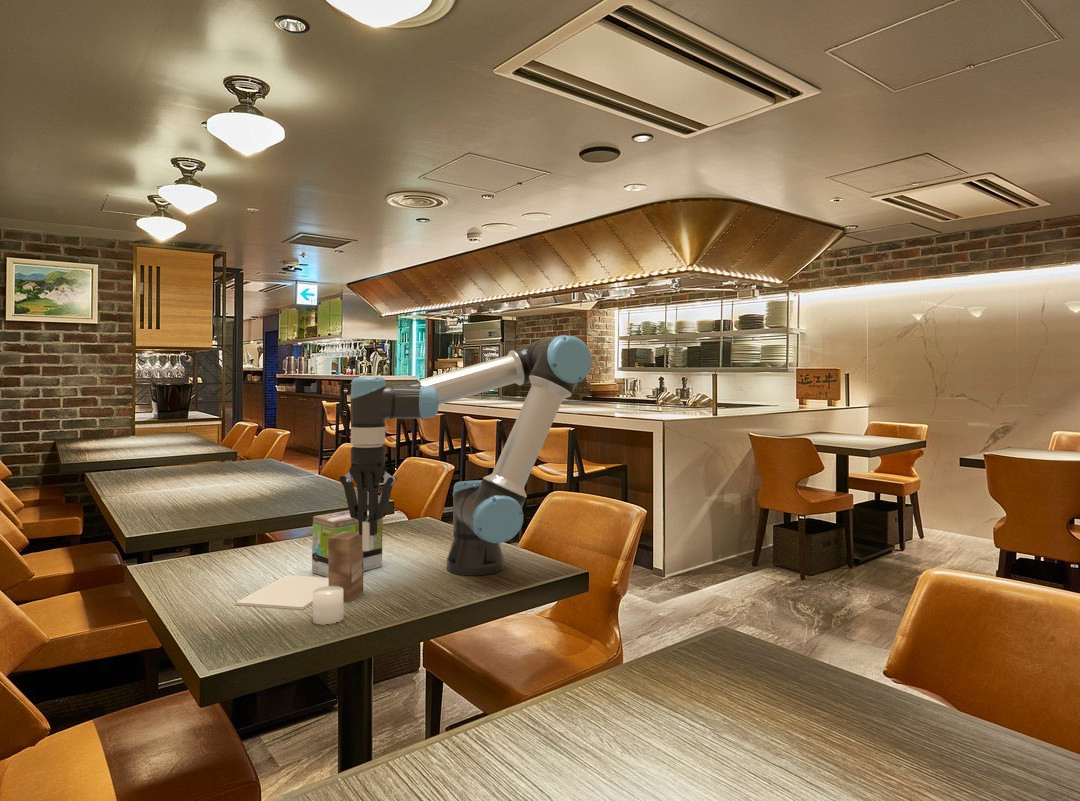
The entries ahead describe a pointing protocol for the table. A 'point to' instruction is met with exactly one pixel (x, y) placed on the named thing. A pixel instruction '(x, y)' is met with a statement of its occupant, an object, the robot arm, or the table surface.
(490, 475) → the robot arm
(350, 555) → the wooden block
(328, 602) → the white pillar candle
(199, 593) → the table surface
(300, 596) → the felt mat
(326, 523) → the tea box
